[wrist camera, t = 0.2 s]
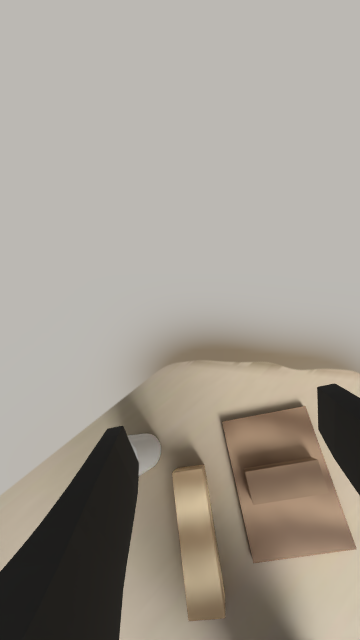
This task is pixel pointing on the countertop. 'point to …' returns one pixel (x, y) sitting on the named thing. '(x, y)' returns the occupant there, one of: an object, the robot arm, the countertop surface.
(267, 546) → the fulcrum
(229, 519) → the countertop surface
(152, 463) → the beverage can
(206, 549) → the beam
